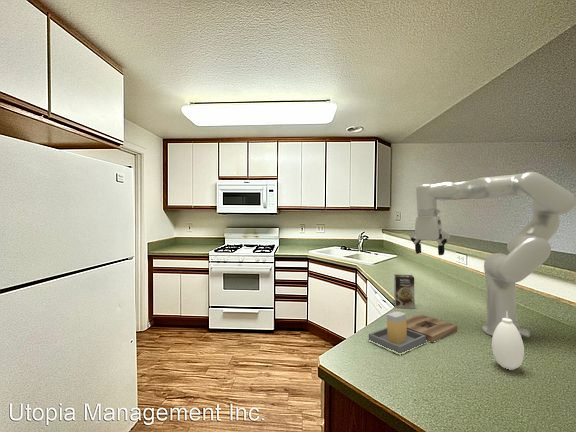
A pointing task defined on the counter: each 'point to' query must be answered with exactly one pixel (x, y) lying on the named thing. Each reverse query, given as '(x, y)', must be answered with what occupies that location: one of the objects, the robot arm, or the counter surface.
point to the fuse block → (396, 327)
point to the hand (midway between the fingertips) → (429, 254)
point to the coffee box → (404, 291)
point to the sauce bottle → (507, 344)
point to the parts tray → (412, 341)
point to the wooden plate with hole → (430, 327)
